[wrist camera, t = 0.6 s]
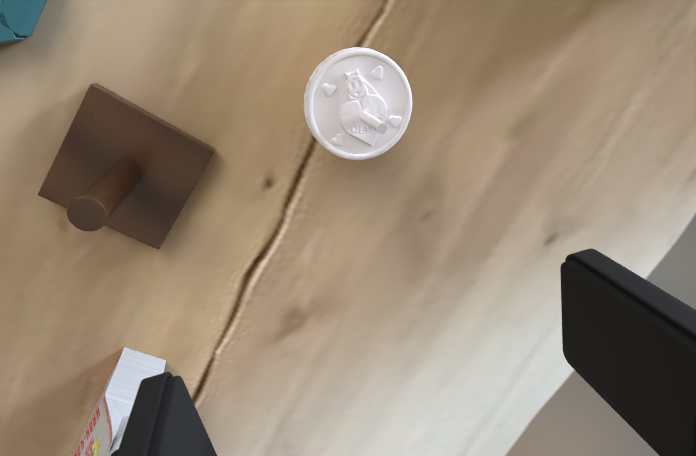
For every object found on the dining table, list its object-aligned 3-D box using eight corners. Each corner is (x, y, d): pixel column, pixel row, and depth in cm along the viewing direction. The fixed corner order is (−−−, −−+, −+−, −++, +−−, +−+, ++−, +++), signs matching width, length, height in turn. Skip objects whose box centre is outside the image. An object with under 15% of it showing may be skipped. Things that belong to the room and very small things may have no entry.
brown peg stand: (95, 82, 32) (32, 98, 23) (214, 148, 36) (201, 186, 26) (44, 190, 34) (-34, 244, 25) (161, 243, 37) (131, 310, 28)
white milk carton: (166, 360, 41) (142, 450, 32) (136, 417, 43) (105, 517, 34) (124, 347, 40) (87, 436, 31) (95, 405, 42) (51, 507, 33)
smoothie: (307, 143, 37) (336, 197, 24) (279, 61, 34) (296, 72, 21) (383, 117, 37) (452, 157, 24) (361, 34, 35) (425, 29, 22)
